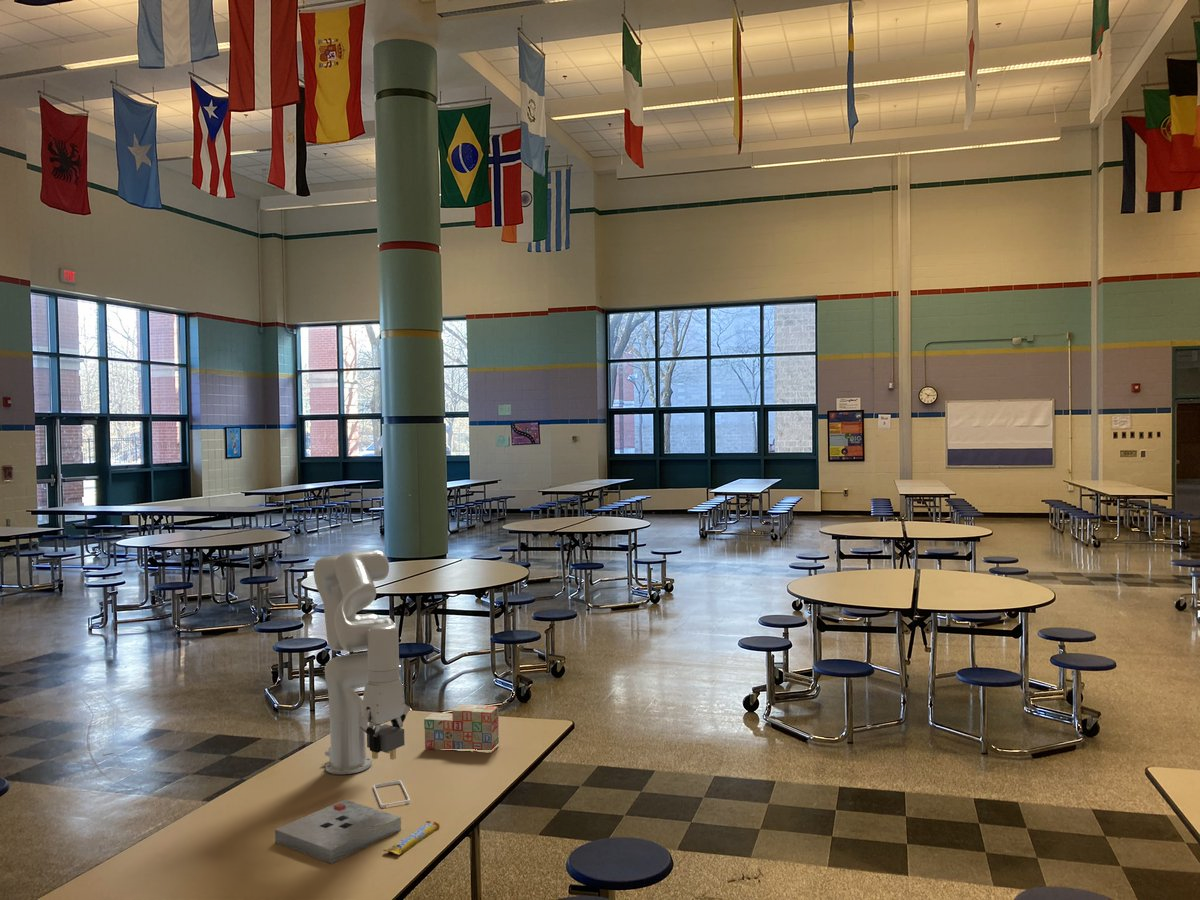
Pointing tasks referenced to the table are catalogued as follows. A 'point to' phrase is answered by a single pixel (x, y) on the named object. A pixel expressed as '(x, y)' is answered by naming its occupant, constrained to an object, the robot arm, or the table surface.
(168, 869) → the table surface
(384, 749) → the plug
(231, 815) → the table surface
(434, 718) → the stack of blocks
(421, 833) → the candy bar
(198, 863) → the table surface
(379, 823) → the socket plate
